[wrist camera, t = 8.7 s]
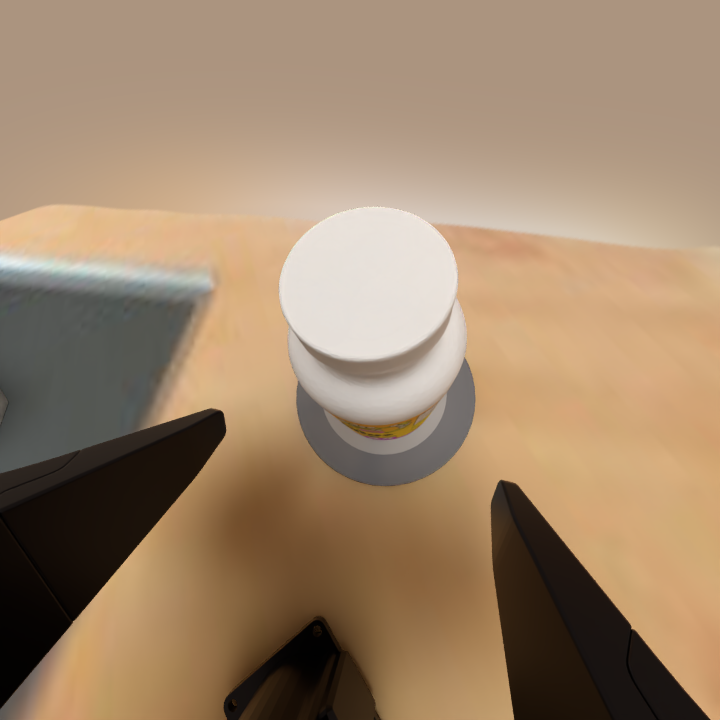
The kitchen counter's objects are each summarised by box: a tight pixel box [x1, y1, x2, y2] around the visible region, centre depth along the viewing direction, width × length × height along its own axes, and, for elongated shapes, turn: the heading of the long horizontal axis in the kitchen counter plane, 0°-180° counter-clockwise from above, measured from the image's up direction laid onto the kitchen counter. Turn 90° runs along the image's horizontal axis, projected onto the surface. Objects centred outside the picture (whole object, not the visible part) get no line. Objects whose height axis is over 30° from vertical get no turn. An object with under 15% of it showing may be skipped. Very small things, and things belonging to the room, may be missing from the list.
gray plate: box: [296, 357, 475, 486], centre depth 20 cm, size 12×12×1 cm
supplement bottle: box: [279, 207, 467, 440], centre depth 13 cm, size 7×7×13 cm
